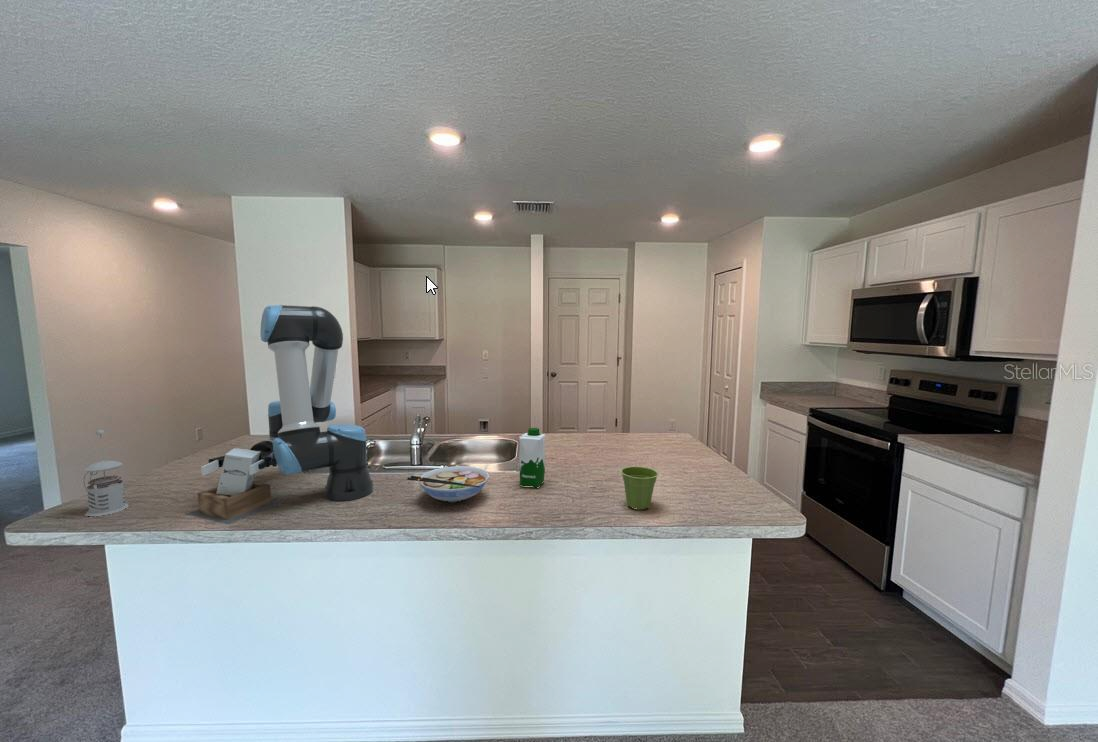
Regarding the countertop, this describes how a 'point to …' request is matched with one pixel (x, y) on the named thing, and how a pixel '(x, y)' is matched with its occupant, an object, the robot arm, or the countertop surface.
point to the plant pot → (639, 485)
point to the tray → (234, 501)
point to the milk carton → (532, 458)
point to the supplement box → (237, 471)
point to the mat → (226, 521)
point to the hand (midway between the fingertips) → (226, 470)
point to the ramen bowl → (453, 482)
